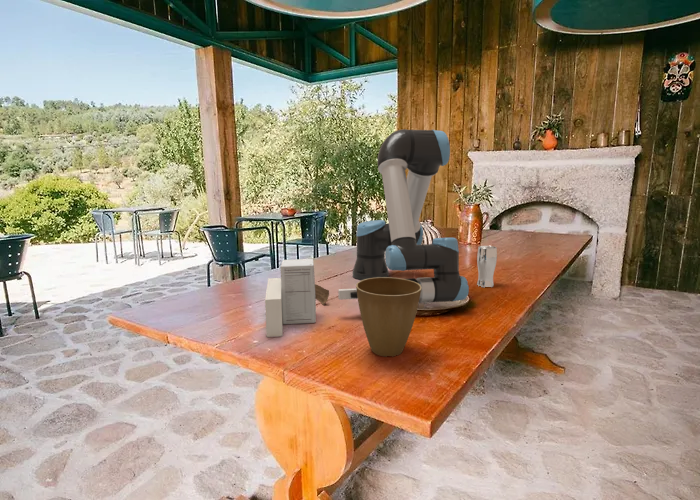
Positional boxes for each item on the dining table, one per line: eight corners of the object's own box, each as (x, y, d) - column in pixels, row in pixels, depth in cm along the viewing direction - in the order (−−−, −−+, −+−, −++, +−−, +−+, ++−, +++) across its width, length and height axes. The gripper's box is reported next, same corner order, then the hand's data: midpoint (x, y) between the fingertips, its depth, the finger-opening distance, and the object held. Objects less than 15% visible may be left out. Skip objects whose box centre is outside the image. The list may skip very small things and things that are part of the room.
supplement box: (315, 312, 117) (314, 258, 114) (316, 323, 108) (315, 264, 105) (283, 313, 116) (282, 259, 113) (281, 324, 107) (279, 265, 104)
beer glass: (496, 284, 148) (498, 246, 146) (492, 289, 142) (495, 249, 140) (477, 282, 152) (480, 244, 149) (473, 286, 146) (475, 247, 143)
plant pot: (343, 354, 89) (343, 287, 86) (375, 333, 101) (376, 274, 98) (401, 371, 81) (403, 298, 78) (429, 346, 93) (431, 282, 90)
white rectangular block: (282, 308, 121) (281, 277, 119) (282, 336, 99) (281, 299, 98) (269, 309, 120) (268, 278, 118) (266, 337, 99) (265, 299, 97)
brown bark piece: (302, 294, 136) (301, 281, 135) (307, 293, 137) (307, 280, 136) (324, 306, 124) (324, 291, 123) (329, 305, 125) (329, 290, 124)
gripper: (423, 309, 110) (341, 314, 106) (409, 296, 122) (336, 300, 119) (424, 284, 108) (341, 288, 105) (410, 273, 121) (335, 276, 117)
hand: (338, 294), depth 112 cm, fingers closed
